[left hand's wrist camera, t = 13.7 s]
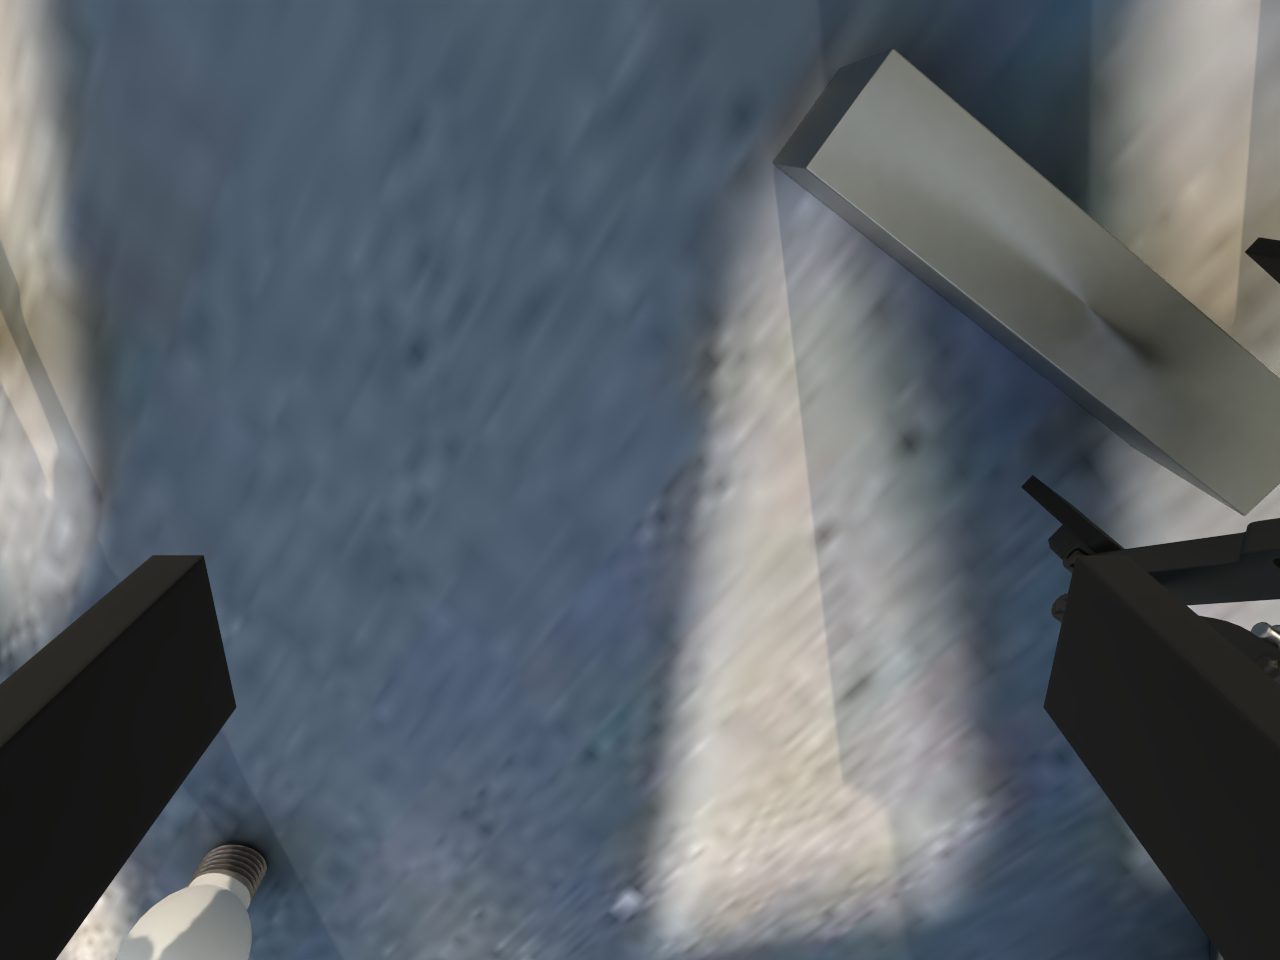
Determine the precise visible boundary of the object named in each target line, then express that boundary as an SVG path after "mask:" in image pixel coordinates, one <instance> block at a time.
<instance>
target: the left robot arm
mask: <svg viewBox="0 0 1280 960" xmlns="http://www.w3.org/2000/svg"><path fill="white" fill-rule="evenodd" d="M235 708H236V704H235V699H234V694H233V690H232V685H231V680H230V676H229V671H228V666H227V662H226V657H225V652H224V648H223V643H222V639H221V634H220V629H219V625H218V620H217V615H216V611H215V606H214V601H213V597H212V592H211V587H210V583H209V578H208V573H207V569H206V564H205V560H204V555H153V556H152V557H150V558H149V559H148V560H147V561H146V562H144V563H143V564H142V565H141V566H140V567H139V568H137V569H136V570H135V571H134V572H133V573H131V574H130V575H129V576H128V577H127V578H126V579H124V580H123V581H122V582H121V583H120V584H118V585H117V586H116V587H115V588H114V589H113V590H111V591H110V592H109V593H108V594H107V595H105V596H104V597H103V598H102V599H101V600H100V601H98V602H97V603H96V604H95V605H94V606H92V607H91V608H90V609H89V610H88V611H87V612H85V613H84V614H83V615H82V616H81V617H79V618H78V619H77V620H76V621H75V622H74V623H72V624H71V625H70V626H69V627H68V628H66V629H65V630H64V631H63V632H62V633H61V634H59V635H58V636H57V637H56V638H55V639H53V640H52V641H51V642H50V643H49V644H48V645H46V646H45V647H44V648H43V649H42V650H40V651H39V652H38V653H37V654H36V655H35V656H33V657H32V658H31V659H30V660H29V661H27V662H26V663H25V664H24V665H23V666H22V667H20V668H19V669H18V670H17V671H16V672H14V673H13V674H12V675H11V676H10V677H9V678H7V679H6V680H5V681H4V682H3V683H1V684H0V960H56V959H57V957H58V956H59V954H60V953H61V952H62V950H63V949H64V947H65V946H66V945H67V943H68V942H69V940H70V939H71V938H72V936H73V935H74V933H75V932H76V931H77V929H78V928H79V926H80V925H81V924H82V922H83V921H84V919H85V918H86V917H87V915H88V914H89V913H90V911H91V910H92V908H93V907H94V906H95V904H96V903H97V901H98V900H99V899H100V897H101V896H102V894H103V893H104V892H105V890H106V889H107V887H108V886H109V885H110V883H111V882H112V880H113V879H114V878H115V876H116V875H117V873H118V872H119V871H120V869H121V868H122V866H123V865H124V864H125V862H126V861H127V859H128V858H129V857H130V855H131V854H132V852H133V851H134V850H135V848H136V847H137V845H138V844H139V843H140V841H141V840H142V838H143V837H144V836H145V834H146V833H147V831H148V830H149V829H150V827H151V826H152V824H153V823H154V822H155V820H156V819H157V817H158V816H159V815H160V813H161V812H162V810H163V809H164V808H165V806H166V805H167V803H168V802H169V801H170V799H171V798H172V796H173V795H174V794H175V792H176V791H177V789H178V788H179V787H180V785H181V784H182V783H183V781H184V780H185V778H186V777H187V776H188V774H189V773H190V771H191V770H192V769H193V767H194V766H195V764H196V763H197V762H198V760H199V759H200V757H201V756H202V755H203V753H204V752H205V750H206V749H207V748H208V746H209V745H210V743H211V742H212V741H213V739H214V738H215V736H216V735H217V734H218V732H219V731H220V729H221V728H222V727H223V725H224V724H225V722H226V721H227V720H228V718H229V717H230V715H231V714H232V713H233V711H234V710H235ZM1044 708H1045V710H1046V711H1047V713H1048V714H1049V715H1050V717H1051V718H1052V720H1053V721H1054V722H1055V724H1056V725H1057V727H1058V728H1059V729H1060V731H1061V732H1062V734H1063V735H1064V736H1065V738H1066V739H1067V741H1068V742H1069V743H1070V745H1071V746H1072V748H1073V749H1074V750H1075V752H1076V753H1077V755H1078V756H1079V757H1080V759H1081V760H1082V762H1083V763H1084V764H1085V766H1086V767H1087V769H1088V770H1089V771H1090V773H1091V774H1092V776H1093V777H1094V778H1095V780H1096V781H1097V783H1098V784H1099V785H1100V787H1101V788H1102V789H1103V791H1104V792H1105V794H1106V795H1107V796H1108V798H1109V799H1110V801H1111V802H1112V803H1113V805H1114V806H1115V808H1116V809H1117V810H1118V812H1119V813H1120V815H1121V816H1122V817H1123V819H1124V820H1125V822H1126V823H1127V824H1128V826H1129V827H1130V829H1131V830H1132V831H1133V833H1134V834H1135V836H1136V837H1137V838H1138V840H1139V841H1140V843H1141V844H1142V845H1143V847H1144V848H1145V850H1146V851H1147V852H1148V854H1149V855H1150V857H1151V858H1152V859H1153V861H1154V862H1155V864H1156V865H1157V866H1158V868H1159V869H1160V871H1161V872H1162V873H1163V875H1164V876H1165V878H1166V879H1167V880H1168V882H1169V883H1170V885H1171V886H1172V887H1173V889H1174V890H1175V892H1176V893H1177V894H1178V896H1179V897H1180V899H1181V900H1182V901H1183V903H1184V904H1185V906H1186V907H1187V908H1188V910H1189V911H1190V913H1191V914H1192V915H1193V917H1194V918H1195V919H1196V921H1197V922H1198V924H1199V925H1200V926H1201V928H1202V929H1203V931H1204V932H1205V933H1206V935H1207V936H1208V938H1209V939H1210V940H1211V942H1212V943H1213V945H1214V946H1215V947H1216V949H1217V950H1218V952H1219V953H1220V954H1221V956H1222V957H1223V959H1224V960H1280V684H1279V683H1277V682H1276V681H1275V680H1274V679H1273V678H1271V677H1270V676H1269V675H1268V674H1267V673H1266V672H1264V671H1263V670H1262V669H1261V668H1260V667H1258V666H1257V665H1256V664H1255V663H1254V662H1253V661H1251V660H1250V659H1249V658H1248V657H1247V656H1245V655H1244V654H1243V653H1242V652H1241V651H1240V650H1238V649H1237V648H1236V647H1235V646H1234V645H1232V644H1231V643H1230V642H1229V641H1228V640H1227V639H1225V638H1224V637H1223V636H1222V635H1221V634H1219V633H1218V632H1217V631H1216V630H1215V629H1214V628H1212V627H1211V626H1210V625H1209V624H1208V623H1206V622H1205V621H1204V620H1203V619H1202V618H1201V617H1199V616H1198V615H1197V614H1196V613H1195V612H1193V611H1192V610H1191V609H1190V608H1189V607H1188V606H1186V605H1185V604H1184V603H1183V602H1182V601H1180V600H1179V599H1178V598H1177V597H1176V596H1175V595H1173V594H1172V593H1171V592H1170V591H1169V590H1167V589H1166V588H1165V587H1164V586H1163V585H1162V584H1160V583H1159V582H1158V581H1157V580H1156V579H1154V578H1153V577H1152V576H1151V575H1150V574H1149V573H1147V572H1146V571H1145V570H1144V569H1143V568H1141V567H1140V566H1139V565H1138V564H1137V563H1136V562H1134V561H1133V560H1132V559H1131V558H1130V557H1128V556H1127V555H1076V560H1075V564H1074V569H1073V573H1072V578H1071V583H1070V587H1069V592H1068V597H1067V601H1066V606H1065V611H1064V615H1063V620H1062V625H1061V629H1060V634H1059V639H1058V643H1057V648H1056V652H1055V657H1054V662H1053V666H1052V671H1051V676H1050V680H1049V685H1048V690H1047V694H1046V699H1045V704H1044Z"/></svg>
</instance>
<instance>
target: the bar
mask: <svg viewBox="0 0 1280 960" xmlns="http://www.w3.org/2000/svg"><path fill="white" fill-rule="evenodd" d="M773 164H774V165H775V166H776V167H777V168H779V169H780V170H781V171H782V172H784V173H785V174H786V175H788V176H789V177H790V178H791V179H793V180H794V181H795V182H796V183H798V184H799V185H800V186H802V187H803V188H804V189H805V190H807V191H808V192H809V193H810V194H812V195H813V196H814V197H816V198H817V199H818V200H819V201H821V202H822V203H823V204H824V205H826V206H827V207H828V208H830V209H831V210H832V211H833V212H835V213H836V214H837V215H838V216H840V217H841V218H842V219H844V220H845V221H846V222H847V223H849V224H850V225H851V226H852V227H854V228H855V229H856V230H858V231H859V232H860V233H861V234H863V235H864V236H865V237H866V238H868V239H869V240H870V241H872V242H873V243H874V244H875V245H877V246H878V247H879V248H880V249H882V250H883V251H884V252H886V253H887V254H888V255H889V256H891V257H892V258H893V259H894V260H896V261H897V262H898V263H900V264H901V265H902V266H903V267H905V268H906V269H907V270H908V271H910V272H911V273H912V274H914V275H915V276H916V277H917V278H919V279H920V280H921V281H922V282H924V283H925V284H926V285H928V286H929V287H930V288H931V289H933V290H934V291H935V292H936V293H938V294H939V295H940V296H942V297H943V298H944V299H945V300H947V301H948V302H949V303H950V304H952V305H953V306H954V307H956V308H957V309H958V310H959V311H961V312H962V313H963V314H964V315H966V316H967V317H968V318H970V319H971V320H972V321H973V322H975V323H976V324H977V325H978V326H980V327H981V328H982V329H984V330H985V331H986V332H987V333H989V334H990V335H991V336H992V337H994V338H995V339H996V340H998V341H999V342H1000V343H1001V344H1003V345H1004V346H1005V347H1006V348H1008V349H1009V350H1010V351H1012V352H1013V353H1014V354H1015V355H1017V356H1018V357H1019V358H1020V359H1022V360H1023V361H1024V362H1026V363H1027V364H1028V365H1029V366H1031V367H1032V368H1033V369H1034V370H1036V371H1037V372H1038V373H1040V374H1041V375H1042V376H1043V377H1045V378H1046V379H1047V380H1048V381H1050V382H1051V383H1052V384H1054V385H1055V386H1056V387H1057V388H1059V389H1060V390H1061V391H1062V392H1064V393H1065V394H1066V395H1068V396H1069V397H1070V398H1071V399H1073V400H1074V401H1075V402H1076V403H1078V404H1079V405H1080V406H1082V407H1083V408H1084V409H1085V410H1087V411H1088V412H1089V413H1090V414H1092V415H1093V416H1094V417H1096V418H1097V419H1098V420H1099V421H1101V422H1102V423H1103V424H1104V425H1106V426H1107V427H1108V428H1110V429H1111V430H1112V431H1113V432H1115V433H1116V434H1117V435H1118V436H1120V437H1121V438H1122V439H1124V440H1125V441H1126V442H1127V443H1129V444H1130V445H1131V446H1132V447H1134V448H1135V449H1136V450H1138V451H1139V452H1141V453H1143V454H1144V455H1146V456H1147V457H1149V458H1151V459H1152V460H1154V461H1156V462H1157V463H1159V464H1160V465H1162V466H1164V467H1165V468H1167V469H1169V470H1170V471H1172V472H1173V473H1175V474H1177V475H1178V476H1180V477H1181V478H1183V479H1185V480H1186V481H1188V482H1190V483H1191V484H1193V485H1194V486H1196V487H1198V488H1199V489H1201V490H1203V491H1204V492H1206V493H1207V494H1209V495H1211V496H1212V497H1214V498H1215V499H1217V500H1219V501H1220V502H1222V503H1224V504H1225V505H1227V506H1228V507H1230V508H1232V509H1233V510H1235V511H1237V512H1238V513H1240V514H1241V515H1243V516H1245V515H1246V514H1247V513H1249V512H1250V511H1251V510H1252V509H1253V508H1254V507H1255V506H1256V505H1257V504H1258V503H1259V502H1260V501H1261V500H1262V499H1263V498H1265V497H1266V496H1267V495H1268V494H1269V493H1270V492H1271V491H1272V490H1273V489H1274V488H1275V487H1276V486H1277V485H1278V484H1279V483H1280V379H1279V378H1278V377H1277V376H1276V375H1275V374H1274V373H1272V372H1271V371H1270V370H1269V369H1268V368H1267V367H1265V366H1264V365H1263V364H1262V363H1261V362H1260V361H1258V360H1257V359H1256V358H1255V357H1254V356H1253V355H1251V354H1250V353H1249V352H1248V351H1247V350H1246V349H1244V348H1243V347H1242V346H1241V345H1240V344H1239V343H1237V342H1236V341H1235V340H1234V339H1233V338H1232V337H1230V336H1229V335H1228V334H1227V333H1226V332H1225V331H1223V330H1222V329H1221V328H1220V327H1219V326H1218V325H1216V324H1215V323H1214V322H1213V321H1212V320H1211V319H1209V318H1208V317H1207V316H1206V315H1205V314H1204V313H1202V312H1201V311H1200V310H1199V309H1198V308H1197V307H1195V306H1194V305H1193V304H1192V303H1191V302H1190V301H1188V300H1187V299H1186V298H1185V297H1184V296H1183V295H1181V294H1180V293H1179V292H1178V291H1177V290H1176V289H1174V288H1173V287H1172V286H1171V285H1170V284H1169V283H1167V282H1166V281H1165V280H1164V279H1163V278H1162V277H1160V276H1159V275H1158V274H1157V273H1156V272H1155V271H1153V270H1152V269H1151V268H1150V267H1149V266H1148V265H1146V264H1145V263H1144V262H1143V261H1142V260H1141V259H1139V258H1138V257H1137V256H1136V255H1135V254H1134V253H1132V252H1131V251H1130V250H1129V249H1128V248H1127V247H1125V246H1124V245H1123V244H1122V243H1121V242H1120V241H1118V240H1117V239H1116V238H1115V237H1114V236H1112V235H1111V234H1110V233H1109V232H1108V231H1107V230H1105V229H1104V228H1103V227H1102V226H1101V225H1100V224H1098V223H1097V222H1096V221H1095V220H1094V219H1093V218H1091V217H1090V216H1089V215H1088V214H1087V213H1086V212H1084V211H1083V210H1082V209H1081V208H1080V207H1079V206H1077V205H1076V204H1075V203H1074V202H1073V201H1072V200H1070V199H1069V198H1068V197H1067V196H1066V195H1065V194H1063V193H1062V192H1061V191H1060V190H1059V189H1058V188H1056V187H1055V186H1054V185H1053V184H1052V183H1051V182H1049V181H1048V180H1047V179H1046V178H1045V177H1044V176H1042V175H1041V174H1040V173H1039V172H1038V171H1037V170H1035V169H1034V168H1033V167H1032V166H1031V165H1030V164H1028V163H1027V162H1026V161H1025V160H1024V159H1023V158H1021V157H1020V156H1019V155H1018V154H1017V153H1016V152H1014V151H1013V150H1012V149H1011V148H1010V147H1009V146H1007V145H1006V144H1005V143H1004V142H1003V141H1002V140H1000V139H999V138H998V137H997V136H996V135H995V134H993V133H992V132H991V131H990V130H989V129H988V128H986V127H985V126H984V125H983V124H982V123H981V122H979V121H978V120H977V119H976V118H975V117H974V116H972V115H971V114H970V113H969V112H968V111H967V110H965V109H964V108H963V107H962V106H961V105H960V104H958V103H957V102H956V101H955V100H954V99H953V98H951V97H950V96H949V95H948V94H947V93H946V92H944V91H943V90H942V89H941V88H940V87H939V86H937V85H936V84H935V83H934V82H933V81H932V80H930V79H929V78H928V77H927V76H926V75H925V74H923V73H922V72H921V71H920V70H919V69H918V68H916V67H915V66H914V65H913V64H912V63H911V62H909V61H908V60H907V59H906V58H905V57H904V56H902V55H901V54H900V53H899V52H898V51H897V50H895V49H890V50H887V51H885V52H882V53H879V54H877V55H874V56H872V57H869V58H866V59H864V60H861V61H858V62H856V63H853V64H850V65H848V66H845V67H842V68H840V69H839V70H838V72H837V73H836V75H835V76H834V77H833V79H832V80H831V82H830V83H829V84H828V86H827V87H826V89H825V90H824V91H823V93H822V94H821V96H820V97H819V98H818V100H817V101H816V103H815V104H814V105H813V107H812V108H811V110H810V111H809V112H808V114H807V115H806V117H805V118H804V119H803V121H802V122H801V124H800V125H799V126H798V128H797V129H796V131H795V132H794V133H793V135H792V136H791V138H790V139H789V140H788V142H787V143H786V145H785V146H784V147H783V149H782V150H781V152H780V153H779V154H778V156H777V157H776V159H775V160H774V161H773Z"/></svg>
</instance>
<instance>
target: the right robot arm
mask: <svg viewBox="0 0 1280 960" xmlns="http://www.w3.org/2000/svg"><path fill="white" fill-rule="evenodd" d="M1245 253H1246V254H1248V255H1249V256H1250V257H1251V258H1252V259H1253V260H1254V261H1255V262H1256V263H1257V264H1259V265H1260V266H1261V267H1262V268H1263V269H1264V270H1265V271H1266V272H1267V273H1269V274H1270V275H1271V276H1272V277H1273V278H1274V279H1275V280H1276V281H1277V282H1278V283H1280V241H1279V240H1272V239H1265V238H1258V239H1257V240H1256V241H1255V242H1254V243H1253V244H1252V245H1251V246H1250V247H1249V248H1248V249H1247V250H1246V251H1245ZM1022 488H1023V489H1024V490H1025V491H1026V492H1027V493H1029V494H1030V495H1031V496H1032V497H1033V498H1034V499H1035V500H1036V501H1037V502H1039V503H1040V504H1041V505H1042V506H1043V507H1044V508H1045V509H1046V510H1047V511H1049V512H1050V513H1051V514H1052V515H1053V516H1054V517H1055V518H1056V519H1057V520H1059V521H1060V522H1061V523H1062V524H1063V525H1062V526H1061V527H1060V528H1059V529H1058V530H1057V531H1056V532H1055V533H1054V534H1053V535H1052V536H1051V537H1050V538H1049V539H1048V540H1049V545H1050V548H1051V549H1052V550H1053V551H1054V552H1055V553H1056V554H1057V555H1058V556H1059V557H1060V558H1061V559H1062V560H1063V565H1064V567H1065V568H1066V569H1068V570H1069V571H1070V572H1072V573H1073V569H1074V564H1075V560H1076V555H1127V556H1128V557H1130V558H1131V559H1132V560H1133V561H1134V562H1136V563H1137V564H1138V565H1139V566H1140V567H1141V568H1143V569H1144V570H1145V571H1146V572H1147V573H1149V574H1150V575H1151V576H1152V577H1153V578H1154V579H1156V580H1157V581H1158V582H1159V583H1160V584H1162V585H1163V586H1164V587H1165V588H1166V589H1167V590H1169V591H1170V592H1171V593H1172V594H1173V595H1175V596H1176V597H1177V598H1178V599H1179V600H1180V601H1182V602H1183V603H1184V604H1185V605H1199V604H1214V603H1228V602H1243V601H1258V600H1273V599H1280V518H1277V519H1270V520H1263V521H1257V522H1253V523H1250V524H1249V525H1248V526H1247V530H1246V532H1243V533H1237V534H1230V535H1223V536H1216V537H1209V538H1202V539H1195V540H1188V541H1180V542H1173V543H1166V544H1159V545H1152V546H1145V547H1138V548H1131V549H1124V548H1123V547H1122V546H1120V545H1119V544H1118V543H1117V542H1116V541H1114V540H1113V539H1112V538H1111V537H1110V536H1108V535H1107V534H1106V533H1105V532H1104V531H1102V530H1101V529H1100V528H1099V527H1098V526H1096V525H1095V524H1094V523H1093V522H1092V521H1091V520H1089V519H1088V518H1087V517H1086V516H1085V515H1083V514H1082V513H1081V512H1080V511H1079V510H1077V509H1076V508H1075V507H1074V506H1073V505H1071V504H1070V503H1069V502H1067V501H1066V500H1065V499H1063V498H1062V497H1061V496H1059V495H1058V494H1057V493H1055V492H1054V491H1053V490H1051V489H1050V488H1049V487H1048V486H1046V485H1045V484H1044V483H1042V482H1041V481H1040V480H1038V479H1037V478H1036V477H1034V476H1033V475H1032V476H1031V477H1030V478H1029V479H1028V480H1027V482H1026V483H1025V484H1024V485H1023V486H1022ZM1067 597H1068V594H1064V595H1062V596H1060V597H1059V598H1058V599H1057V600H1056V601H1055V602H1054V604H1053V606H1052V615H1053V617H1054V618H1055V619H1057V620H1058V621H1060V622H1061V623H1062V620H1063V615H1064V611H1065V606H1066V601H1067ZM1199 617H1201V618H1202V619H1203V620H1204V621H1205V622H1206V623H1208V624H1209V625H1210V626H1211V627H1212V628H1214V629H1215V630H1216V631H1217V632H1218V633H1219V634H1221V635H1222V636H1223V637H1224V638H1225V639H1227V640H1228V641H1229V642H1230V643H1231V644H1232V645H1234V646H1235V647H1236V648H1237V649H1238V650H1240V651H1241V652H1242V653H1243V654H1244V655H1245V656H1247V657H1248V658H1249V659H1250V660H1251V661H1253V662H1254V663H1255V664H1256V665H1257V666H1258V667H1260V668H1261V669H1262V670H1263V671H1264V672H1266V673H1267V674H1268V675H1269V676H1270V677H1271V678H1273V679H1274V680H1275V681H1276V682H1277V683H1279V684H1280V625H1275V626H1271V625H1269V624H1268V623H1266V622H1261V623H1257V624H1256V625H1255V626H1253V628H1252V630H1251V632H1250V631H1248V630H1246V629H1244V628H1242V627H1240V626H1238V625H1235V624H1233V623H1230V622H1227V621H1223V620H1219V619H1215V618H1209V617H1203V616H1199ZM1210 960H1224V959H1223V957H1222V956H1221V954H1220V953H1219V952H1218V950H1217V949H1216V947H1215V946H1214V945H1213V943H1212V942H1211V941H1210Z"/></svg>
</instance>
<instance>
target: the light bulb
mask: <svg viewBox="0 0 1280 960" xmlns="http://www.w3.org/2000/svg"><path fill="white" fill-rule="evenodd" d="M266 871H267V865H266V862H265V860H264V858H263V857H262V856H261V855H260V854H259V853H258V852H256V851H255V850H253V849H251V848H248V847H245V846H241V845H225V846H220V847H218V848H215V849H213V850H211V851H210V852H209V853H208V854H207V855H206V856H205V857H204V859H203V861H202V862H201V864H200V866H199V867H198V869H197V870H196V872H195V874H194V875H193V877H192V879H191V880H190V882H189V883H188V885H187V888H184V889H182V890H180V891H177V892H175V893H173V894H171V895H169V896H167V897H166V898H164V899H163V900H161V901H160V902H159V903H157V904H156V905H155V906H153V907H152V908H151V909H150V910H149V911H148V912H147V913H146V914H145V915H143V916H142V917H141V919H140V920H139V921H138V922H137V923H136V925H135V926H134V927H133V929H132V930H131V931H130V933H129V934H128V935H127V937H126V938H125V940H124V942H123V944H122V946H121V947H120V949H119V951H118V953H117V956H116V958H115V960H248V958H249V953H250V948H251V923H250V919H249V915H248V912H247V909H248V907H249V905H250V903H251V901H252V899H253V897H254V895H255V894H256V891H257V890H258V887H259V885H260V884H261V881H262V880H263V877H264V876H265V874H266Z"/></svg>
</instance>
